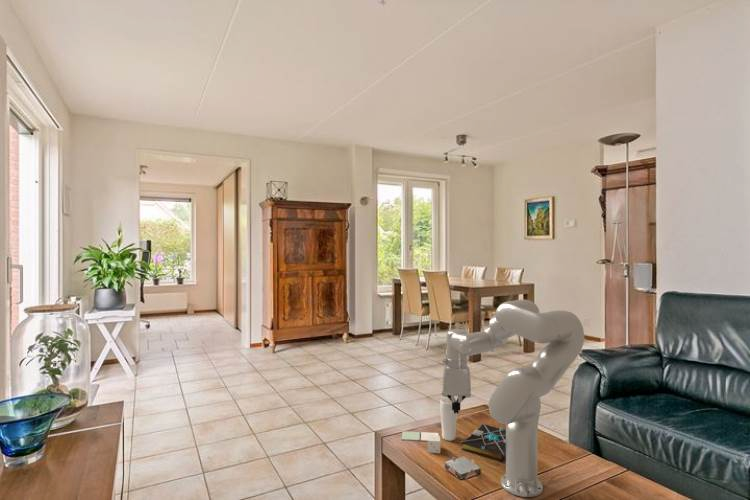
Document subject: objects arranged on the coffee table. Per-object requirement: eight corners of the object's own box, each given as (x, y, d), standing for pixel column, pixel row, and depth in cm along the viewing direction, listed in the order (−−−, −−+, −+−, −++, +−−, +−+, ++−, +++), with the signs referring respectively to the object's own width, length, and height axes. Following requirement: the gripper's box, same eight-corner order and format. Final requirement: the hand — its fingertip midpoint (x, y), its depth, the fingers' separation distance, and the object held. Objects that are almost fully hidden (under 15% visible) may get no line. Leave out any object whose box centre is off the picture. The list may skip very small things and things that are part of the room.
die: (440, 453, 158) (440, 441, 158) (428, 452, 159) (428, 440, 159) (440, 447, 163) (440, 435, 163) (427, 447, 163) (427, 435, 163)
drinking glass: (438, 440, 168) (438, 402, 168) (441, 433, 175) (441, 396, 174) (456, 443, 166) (456, 404, 166) (458, 435, 173) (458, 398, 173)
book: (504, 464, 151) (504, 450, 151) (460, 451, 161) (460, 437, 161) (523, 441, 168) (523, 428, 168) (482, 430, 178) (482, 418, 178)
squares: (438, 441, 167) (438, 440, 167) (401, 439, 169) (401, 438, 169) (438, 433, 174) (438, 432, 174) (402, 432, 176) (402, 431, 176)
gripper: (436, 365, 157) (436, 415, 157) (478, 367, 155) (477, 417, 155) (436, 359, 164) (435, 407, 165) (476, 361, 162) (475, 409, 163)
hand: (456, 412), depth 160 cm, fingers closed
